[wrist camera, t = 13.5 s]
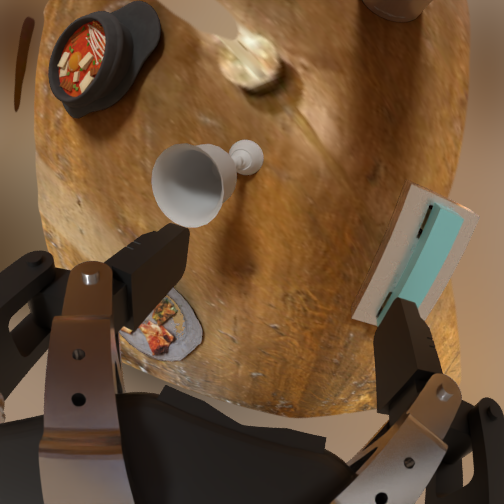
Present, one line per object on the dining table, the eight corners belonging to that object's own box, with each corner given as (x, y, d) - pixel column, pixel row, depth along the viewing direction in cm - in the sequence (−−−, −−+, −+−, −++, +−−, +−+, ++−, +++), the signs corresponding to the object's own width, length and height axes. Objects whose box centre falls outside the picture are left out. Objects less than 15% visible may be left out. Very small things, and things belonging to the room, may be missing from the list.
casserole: (144, -16, 28) (114, -29, 21) (185, 54, 34) (154, 44, 26) (57, 70, 38) (26, 72, 31) (85, 139, 44) (51, 147, 37)
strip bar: (428, 196, 34) (440, 208, 29) (450, 207, 33) (464, 219, 29) (375, 309, 43) (377, 330, 39) (395, 315, 43) (399, 336, 38)
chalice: (274, 178, 39) (233, 222, 23) (228, 186, 41) (164, 232, 25) (263, 127, 36) (212, 134, 21) (217, 137, 38) (142, 154, 23)
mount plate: (405, 179, 34) (411, 184, 31) (471, 210, 32) (479, 216, 30) (350, 306, 44) (351, 318, 42) (411, 325, 43) (414, 336, 40)
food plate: (169, 368, 65) (162, 377, 62) (98, 306, 63) (89, 314, 60) (224, 319, 53) (218, 330, 50) (132, 238, 51) (121, 245, 48)
